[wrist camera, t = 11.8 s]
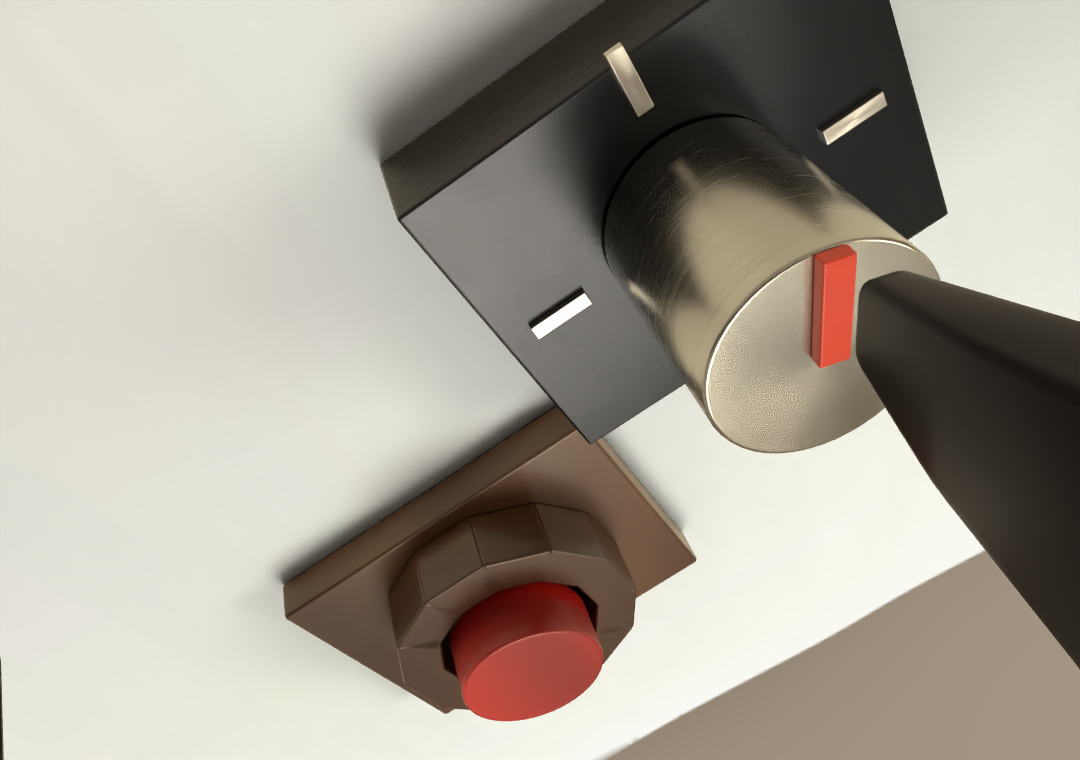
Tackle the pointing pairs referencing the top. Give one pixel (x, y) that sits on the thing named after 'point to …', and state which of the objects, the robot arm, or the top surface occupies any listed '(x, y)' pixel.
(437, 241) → the dimmer panel
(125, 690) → the top surface
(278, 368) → the top surface
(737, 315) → the dimmer knob
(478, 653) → the button
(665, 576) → the switch block
